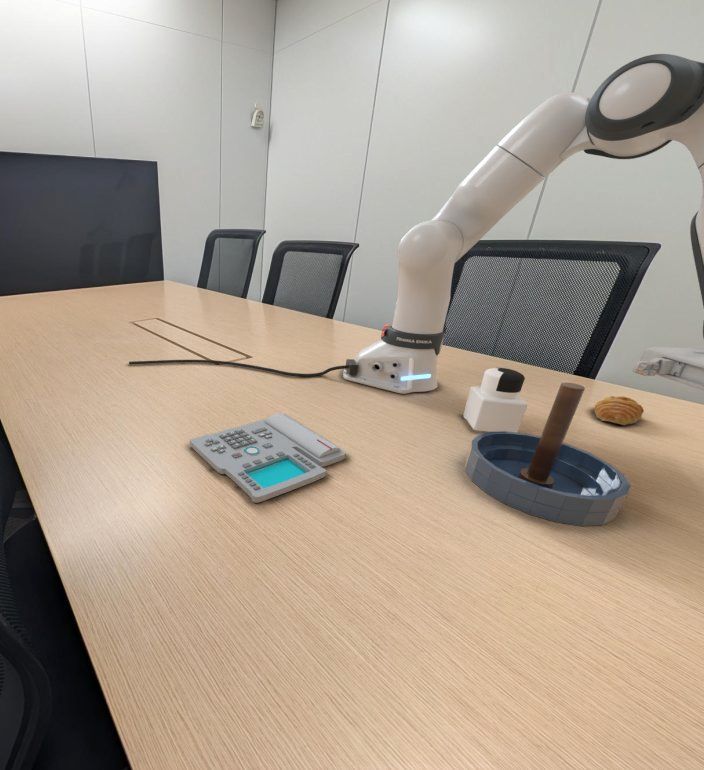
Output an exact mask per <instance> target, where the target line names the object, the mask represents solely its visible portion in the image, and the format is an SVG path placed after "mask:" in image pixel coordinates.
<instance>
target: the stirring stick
mask: <svg viewBox="0 0 704 770" xmlns="http://www.w3.org/2000/svg"><path fill="white" fill-rule="evenodd" d="M585 390H586V387H585V386H584V385H582V384H578V383H574V382H562V383H560V386H559V388H558V391H557V393H556V396H555V399H554V402H553V403H552V406H551V409H550V411H549V414H548V417H547V419H546V421H545V424H544V427H543V429H542V433H541V435H540V436H541V438H540V440H539V443H538V445H537V448H536V451H535V453H534V456H533V458H532V461H531V464H530V466H529V468H524V469H521V470H520V473H519V476H518V478H520V479H523V480H525V481H528V482H530V483H533V484H536V485H538V486H541V487H545V488H549V489H552V487H553V484H554V482H555V481H554V479H553V478H552V477H551V476H550V472H551V470H552V467H553V465H554V463H555V460H556V458H557V455H558V453H559V450H560V448H561V446H562V443H564V440H565V439H566V436H567V434H568V431H569V428H570V426H571V424H572V422H573V419H574V416H575V415H576V412H577V409H578V407H579V404H580V402H581V400H582V397H583V394H584V392H585Z"/></svg>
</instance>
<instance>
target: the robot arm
mask: <svg viewBox="0 0 704 770" xmlns="http://www.w3.org/2000/svg"><path fill="white" fill-rule="evenodd" d="M673 141H675V142H678V143H680V144H682V145H683V146H685V148H686V149H687V150H688V151H689V152H690V154H691V157H692V158H693V161H694V162H695V165H696V167H697V170H698V172H699V174H700V178H701V183H702V195H701V202H700V206H699V209H698V210H697V212H696V213H695V214H694V215H693V216H692V218H691V221H690V228H689V229H690V230H689V231H690V232H689V233H690V242H691V243H690V244H691V250H692V255H693V260H694V266H695V270H696V275H697V280H698V286H699V291H700V295H701V300H702V301H701V302H702V306H703V308H704V62H702V61H698V60H697V61H696V60H693V59H690V58H687V57H683V56H679V55H676V54H670V53H656V54H649V55H645V56H641V57H639V58H636V59H633V60H632V61H629V62H628V63H626V64H624V65H623V66H621V67H619V68H618V69H616V70H615V71H614V72H612V73H611V74H610V75H609V76H607V78H605V80H603V82H602V83H601V84H600V85H599V86H598V87H597V88H596V90H595V91H594V93H593V94H592V96H591V97H588V96H586V95H584V94H581V93H579V92H571V91H568V92H567V91H566V92H558V93H557V94H554V95H552V96H550V97H548V98H547V99H545V100H544V101H543V102H542V103H541V104H539V105H538V106H537V107H536V108H534V109H533V110H532V111H531V112H530V113H529V114H527V115H526V116H524V118H523V119H522V120H521V121H519V122H518V123H517V124H516V125H515V126H514V127H513V128H512V129H510V131H509V132H508V133H507V134H506V135H505V136H504V137H503V138H502V139H501V140H500V141H499V142H498V143H497V144H496V145H495V146H494V147H493V148H492V149H491V150H490V151H489V152H488V154H486V155H485V156H484V157H483V158H482V159H481V161H480V162H479V163H478V164H477V165H476V166H475V167H474V168H473V169H472V170H471V171H470V172H469V173H468V174H467V175H466V176H465V178H464V179H463V180H462V181H461V182H460V183H459V185H458V186H457V187H456V189H455V190H454V192H453V193H452V194H451V196H450V197H448V198H449V199H448V200H447V201H446V202H445V203H444V205H443V206H442V207H441V209H439V211H438V212H437V213H436V214H435V215H434V216H433V218H432V219H431V220H425V221H422V222H420V223H417V224H416V225H413V227H411V228H410V229H409V230H408V231H407V232H406V233H405V234H404V235H403V237H402V238H401V239H400V241H399V243H398V247H397V259H398V265H397V294H396V301H395V306H394V313H393V319H392V324H390V323H386V324H384V326H383V327H382V330H381V335H380V339H379V340H378V341H376V342H374V343H371V344H370V345H368V346H366V347H364V348H362V349H361V350H359V352H358V353H357V354H356V356H355V358H354V359H353V358H346V359H345V365H344V364H343V365H337V366H336V365H335V366H332V367H329V368H327V369H324V370H323V371H319V372H314V373H299V372H289V371H284V370H279V369H275V368H270V367H264V366H258V365H253V364H248V363H241V362H234V361H227V360H226V361H225V360H217V359H216V360H214V359H160V360H133V361H128V365H150V364H172V363H174V364H175V363H176V364H177V363H178V364H179V363H198V364H199V363H200V364H201V363H202V364H218V365H229V366H235V367H241V368H248V369H254V370H259V371H264V372H269V373H275V374H279V375H284V376H289V377H297V378H299V377H300V378H314V377H321V376H324V375H327V374H328V373H330V372H332V371H337V370H343V373H342V377H343V379H344V380H346V381H349V382H353V383H356V384H357V383H358V384H361V385H365V386H369V387H373V388H377V389H381V390H385V391H390V392H393V393H398V394H400V395H401V394H403V395H405V394H410V393H423V392H430V391H433V390H436V389H437V388H438V378H437V377H438V376H437V375H438V374H437V373H438V371H437V370H438V357H439V355H440V353H441V352H442V347H443V344H444V338H445V331H444V328H445V323H446V319H447V316H448V315H447V314H448V310H449V306H450V301H451V292H452V281H453V276H454V275H453V274H454V268H455V264H456V263H457V262H458V261H459V260H460V259H461V258H463V256H464V255H465V254H467V252H468V251H470V250H471V249H472V248H473V247H474V246H475V245H476V244H477V243H478V242H479V241H481V240H482V238H483V237H485V235H486V234H488V233H489V231H490V230H492V228H493V227H495V225H496V224H497V223H498V222H499V221H500V220H502V219H503V218H504V217H505V216H506V215H507V214H508V213H509V212H510V211H511V210H512V209H513V208H515V206H517V204H519V203H520V202H521V201H522V200H523V199H525V198H526V196H528V195H529V193H531V192H532V191H533V190H534V189H535V188H536V187H538V186H539V184H541V183H542V182H543V181H544V180H545V179H546V178H547V177H548V176H550V174H551V173H553V172H554V171H555V170H556V169H557V168H558V167H559V166H560V165H562V163H564V161H566V160H567V159H569V158H570V157H572V156H573V155H575V154H577V153H579V152H581V151H583V153H585V154H587V155H593V156H599V157H605V158H608V159H613V160H633V159H638V158H643V157H646V156H648V155H651V154H653V153H655V152H657V151H659V150H661V149H663V148H664V147H666V146H667V145H669V144H670V143H672V142H673ZM702 322H703V324H702V337H703V339H704V321H702ZM632 373H634V374H637V375H640V376H643V377H655V376H658V377H662V378H664V379H668V380H671V381H673V382H677V383H680V384H683V385H686V386H688V387H692V388H695V389H697V390H701V391H704V349H701V348H693V347H674V346H673V347H671V346H650V347H647V348H646V349H645V350H644V351H643V353H642V354H641V357H640V359H639V361H637V362H635V364H634V366H633V368H632Z"/></svg>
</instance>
